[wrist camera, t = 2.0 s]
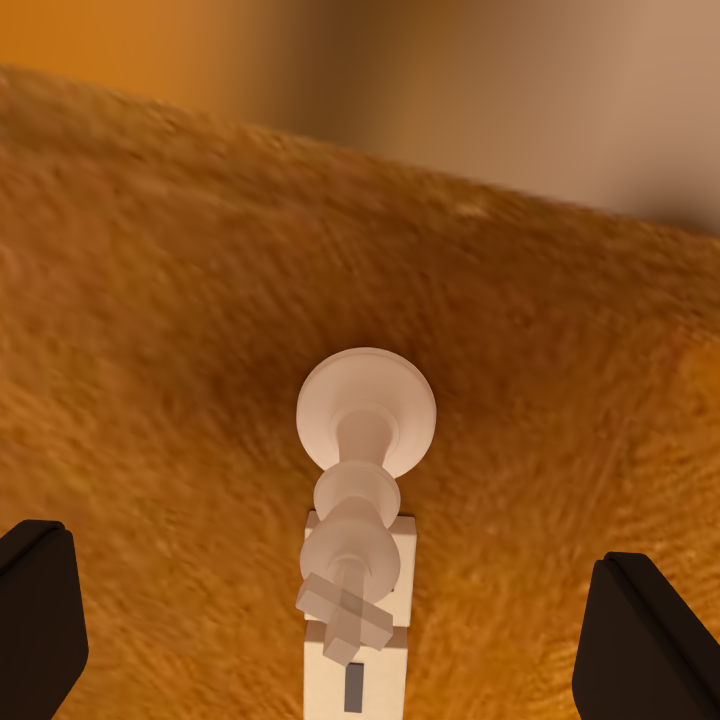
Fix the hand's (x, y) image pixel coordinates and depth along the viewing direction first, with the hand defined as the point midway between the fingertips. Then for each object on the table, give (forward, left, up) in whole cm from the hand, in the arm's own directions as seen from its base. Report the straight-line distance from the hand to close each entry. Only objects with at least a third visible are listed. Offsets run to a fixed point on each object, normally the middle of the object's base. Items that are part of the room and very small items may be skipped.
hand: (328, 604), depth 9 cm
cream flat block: (+8, 0, -9) cm, 12 cm away
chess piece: (0, 0, -9) cm, 9 cm away
